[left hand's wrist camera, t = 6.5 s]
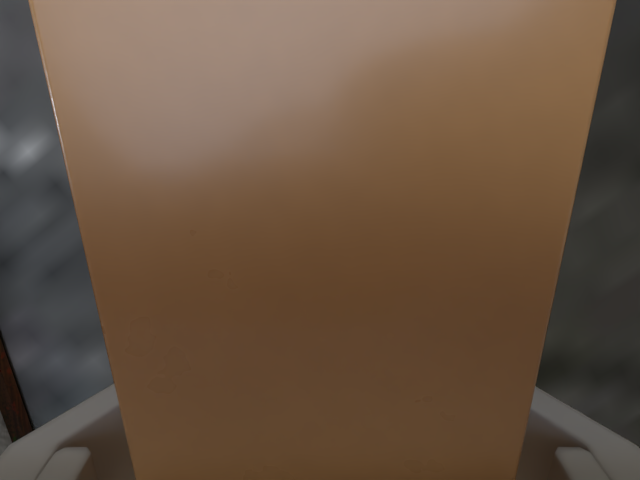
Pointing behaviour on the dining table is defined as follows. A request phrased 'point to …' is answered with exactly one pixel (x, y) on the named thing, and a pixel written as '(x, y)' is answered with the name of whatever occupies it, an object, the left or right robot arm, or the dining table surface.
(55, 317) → the dining table surface
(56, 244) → the dining table surface
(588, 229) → the dining table surface
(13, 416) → the bust
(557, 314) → the dining table surface
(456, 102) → the post
